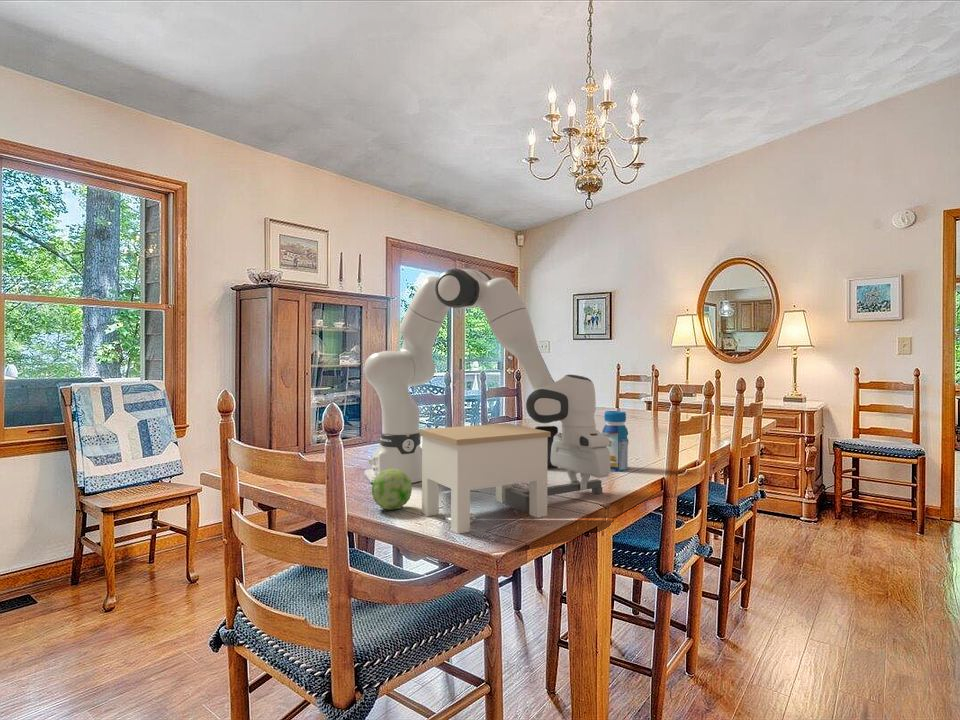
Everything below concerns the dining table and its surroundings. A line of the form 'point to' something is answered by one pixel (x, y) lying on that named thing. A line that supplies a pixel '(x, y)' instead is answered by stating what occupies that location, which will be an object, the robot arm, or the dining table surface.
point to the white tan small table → (482, 466)
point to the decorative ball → (391, 489)
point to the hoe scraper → (521, 498)
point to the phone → (549, 442)
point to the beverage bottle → (617, 440)
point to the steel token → (448, 518)
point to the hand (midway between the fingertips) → (578, 488)
